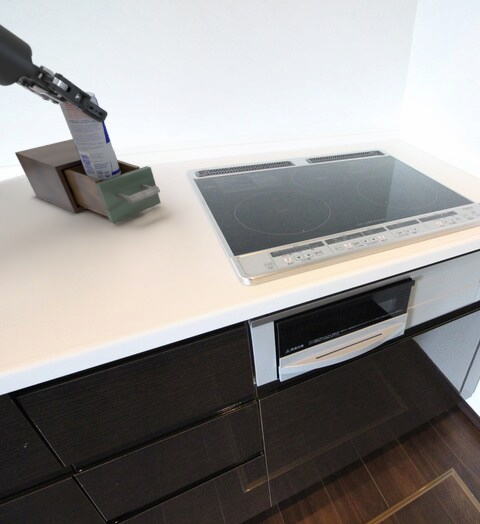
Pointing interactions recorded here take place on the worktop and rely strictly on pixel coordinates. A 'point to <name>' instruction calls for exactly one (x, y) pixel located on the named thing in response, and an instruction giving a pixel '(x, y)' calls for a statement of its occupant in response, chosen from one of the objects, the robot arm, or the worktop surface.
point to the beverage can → (91, 142)
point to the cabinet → (51, 172)
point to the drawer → (114, 191)
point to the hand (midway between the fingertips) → (93, 114)
